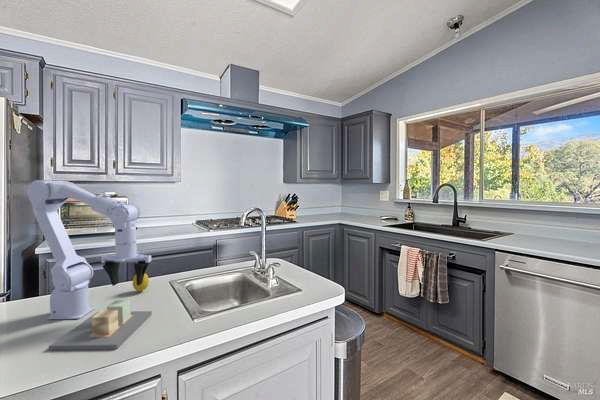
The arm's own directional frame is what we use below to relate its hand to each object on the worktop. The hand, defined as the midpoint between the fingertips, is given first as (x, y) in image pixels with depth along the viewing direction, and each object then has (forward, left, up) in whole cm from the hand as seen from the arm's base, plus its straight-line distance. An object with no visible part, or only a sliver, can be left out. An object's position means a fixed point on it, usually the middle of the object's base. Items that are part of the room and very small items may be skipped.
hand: (127, 284), depth 92 cm
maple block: (0, -12, -9) cm, 15 cm away
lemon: (-6, +20, -11) cm, 23 cm away
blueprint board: (-2, -9, -10) cm, 14 cm away
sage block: (0, -5, -9) cm, 10 cm away
